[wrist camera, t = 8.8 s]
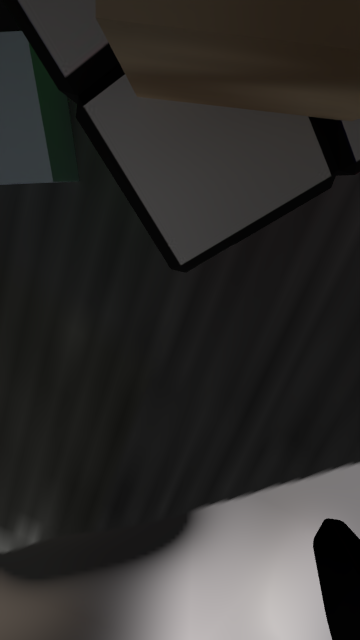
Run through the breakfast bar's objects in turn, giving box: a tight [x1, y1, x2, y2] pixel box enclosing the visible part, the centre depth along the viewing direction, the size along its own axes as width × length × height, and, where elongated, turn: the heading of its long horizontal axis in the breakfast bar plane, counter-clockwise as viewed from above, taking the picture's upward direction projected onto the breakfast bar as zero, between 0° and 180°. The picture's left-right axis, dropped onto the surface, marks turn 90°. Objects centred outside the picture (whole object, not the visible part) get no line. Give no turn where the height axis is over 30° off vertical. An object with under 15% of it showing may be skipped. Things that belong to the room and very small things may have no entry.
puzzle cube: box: [3, 0, 360, 273], centre depth 11 cm, size 10×10×10 cm
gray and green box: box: [0, 31, 79, 185], centre depth 15 cm, size 5×5×4 cm
